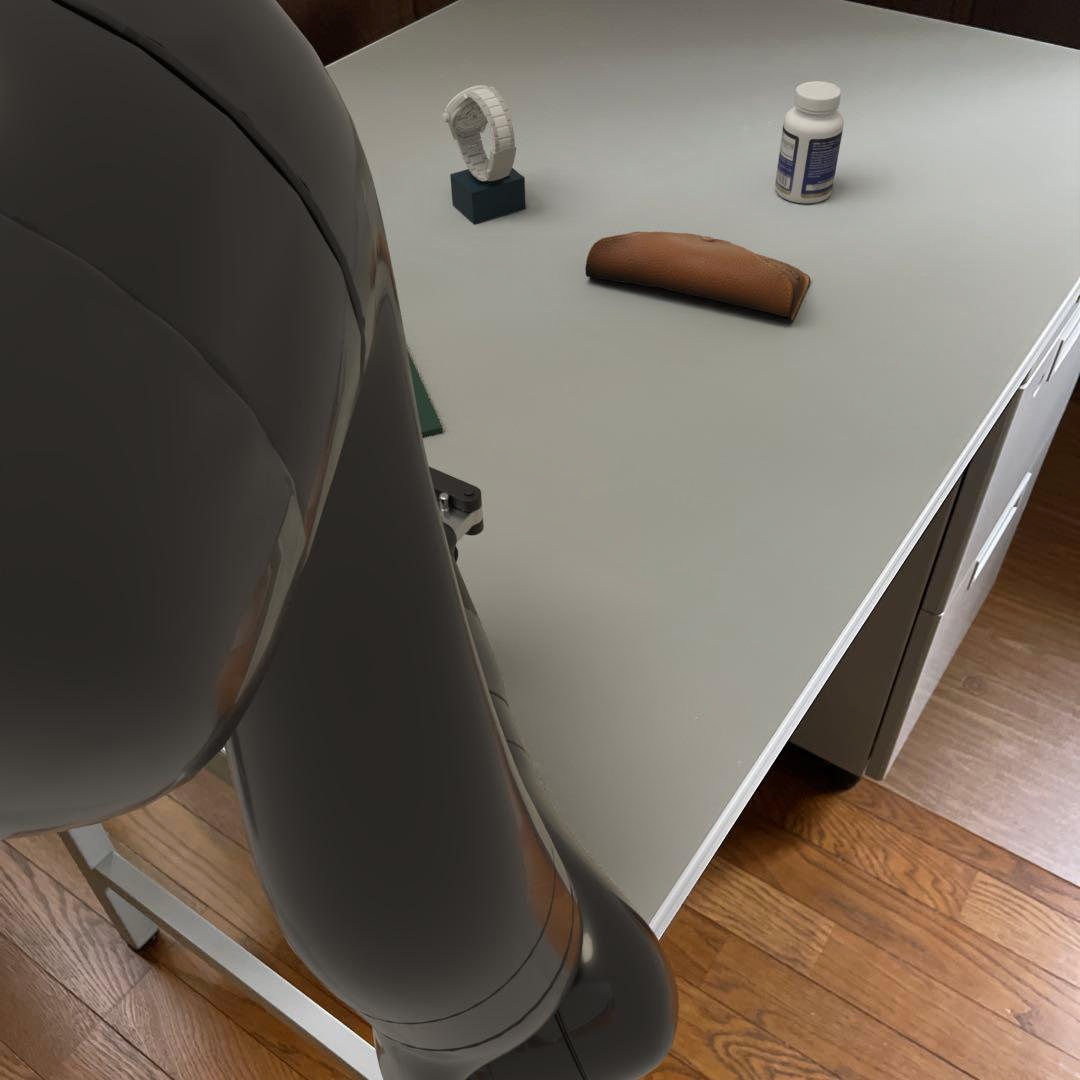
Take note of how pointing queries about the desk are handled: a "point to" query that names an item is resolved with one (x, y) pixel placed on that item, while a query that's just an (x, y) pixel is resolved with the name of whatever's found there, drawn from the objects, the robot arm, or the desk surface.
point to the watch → (484, 156)
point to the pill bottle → (810, 144)
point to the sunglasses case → (700, 269)
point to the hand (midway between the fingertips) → (329, 433)
